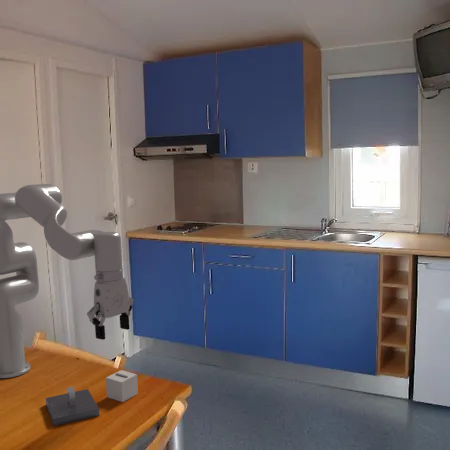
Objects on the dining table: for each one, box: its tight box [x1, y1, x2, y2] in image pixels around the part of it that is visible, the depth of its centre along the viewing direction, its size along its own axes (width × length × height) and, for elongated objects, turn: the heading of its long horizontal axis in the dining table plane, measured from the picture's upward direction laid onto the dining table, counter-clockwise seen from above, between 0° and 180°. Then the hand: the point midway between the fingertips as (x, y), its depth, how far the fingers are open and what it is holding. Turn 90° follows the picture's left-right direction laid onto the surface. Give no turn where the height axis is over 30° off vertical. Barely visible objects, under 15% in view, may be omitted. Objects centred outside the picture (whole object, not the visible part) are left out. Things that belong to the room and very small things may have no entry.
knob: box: [105, 369, 139, 403], centre depth 154 cm, size 6×6×6 cm
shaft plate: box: [45, 386, 100, 427], centre depth 146 cm, size 14×12×6 cm
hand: (113, 333), depth 150 cm, fingers open, 9 cm apart
